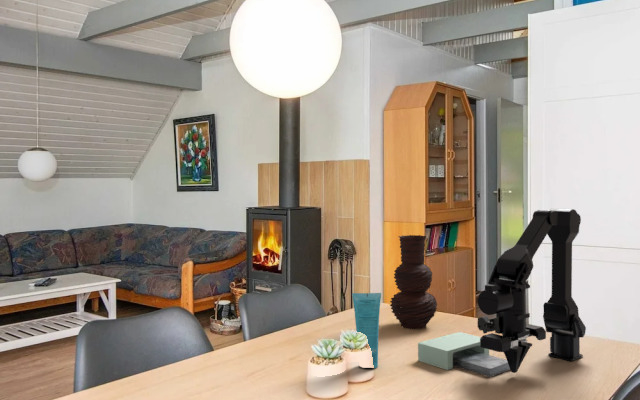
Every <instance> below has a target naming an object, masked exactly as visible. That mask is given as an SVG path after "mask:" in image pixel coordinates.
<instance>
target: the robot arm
mask: <svg viewBox="0 0 640 400" xmlns="http://www.w3.org/2000/svg"><path fill="white" fill-rule="evenodd" d="M581 220H582V218H581V215H580V214H579V213H578V211H576V209H571V208H568V209H567V208H550V209H538V210H535V211H534V212H533V214H532V218H531V220H530V222H529V223H528V225H527V226H526V228H525V229H524V231H523V232H522V234H521V235H520V237H519V238H518V240H517V241H516V243H515V245H514V246H513V247H511V248H508V249H507V250H505V251H504V252H503V253H502V254H501V255H500V256H499V258H498V259H497V260H496V263H495V265H494V267H493V270H492V272H491V275H490V277H489V279H488V282H487V284H485V285H484V290H482V291H481V292H480V293H479V295H478V297H477V305H478V306H477V307H478V308H479V309H480V310H479V311H480V312H482V313H483V314H485V316H480V317H478V318H477V323H476V324H477V328H478V330H479V331H482V332H483V334H484V335H482V336H480V337H481V338H480V347H482V348H486V349H489V351H493V352H497V353H503V354H504V356H505V360H507V362H508V365H509V367H510V370H509V371H510V372H511V373H513V374H515V373H518V370H519V368H520V366H521V365H522V363H523V361H524V359H525V357H526V355H527V353H528V351H529V350H530V349H531V347H533V343H531V342H528V339H527V338H529V337H535V338H536V339H537V341H542V340H546V339H547V333H551V336H550V337H549V350H550V353H548V355H547V356H549V357H552V358H557V359H561V360H564V361H567V362H568V361H570V362H572V361H575V360H577V359H580V358H583V357H584V356H583V354H582V353H580V352H581V351H580V350H581V349H580V348H581V347H580V342H581V341H580V338H584V336H585V335H586V330H587V327H586V325H585V324H584V322H583V321H582V319H581V317H580V314H579V308H578V304H576V301H575V300H574V299H573V296H572V295H573V294H572V290H573V289H572V285H573V284H572V282H573V281H572V280H573V279H572V278H573V275H572V274H573V243H574V240H575V239H576V238H577V236H578V234H579V233H580V225H581V223H582V221H581ZM547 236H548V238H549V240H550V241H551V296H550V298H549V299H548V301H547V302H544V303H543V314H542V315H543V316H542V319H543V323H544V327H545V328H544V327H543V326H539V325H536V324H535V325H534V324H531V323H527V319H528V318H530V315H531V314H530V313H529V312H527V299H526V297H527V296H526V291H527V289H530V288H531V285H530V284H529V283H528V282H527V280H528V279H529V278H530V277H531V273H532V271H533V269H534V263H533V261H534V260H533V258H534V256H535V255H536V253H537V251H538V249H539V248H540V246H541V245H542V243H543V241H544V240H545V238H546V237H547ZM492 315H495V316H496V317H492V318H489V317H488V316H492ZM490 332H491V333H490ZM492 332H494V333H492ZM487 333H488V334H487Z"/></svg>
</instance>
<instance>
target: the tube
mask: <svg viewBox="0 0 640 400" xmlns="http://www.w3.org/2000/svg"><path fill="white" fill-rule="evenodd" d="M351 296H352V302H353V311H354V320H355V330H356V331H357V332H361V333H363V334H365V335H366V336H367V339H368V344H369V346H370V348H371V351H372V357H373V365H374V369H376V368H378V366H379V331H380V330H379V327H380V326H379V324H380V311H381V310H380V309H381V299H382V293H381V292H367V293H366V292H365V293H364V292H353V293H351ZM356 331H355V332H356Z"/></svg>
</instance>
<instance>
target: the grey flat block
mask: <svg viewBox="0 0 640 400" xmlns="http://www.w3.org/2000/svg"><path fill="white" fill-rule="evenodd" d="M453 367H456V368H459V369H462V370H464V371H465V370H466V371H468V372H472V373H474V374H475V373H476V374H479V375H482V376H486V377H488V378H492V377H494V376H497V375H499V374H502V373H506V372H508V371H511V370H510V367H509V365H508V362H507V359H506V358H505V359H504V358H500V357H497V356H494V355H491V354H489V355H487V354H484V353H480V352H476V351H473V350H469V349H464V350H460V351H457V352H454V353H453Z"/></svg>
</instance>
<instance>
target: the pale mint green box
mask: <svg viewBox="0 0 640 400" xmlns="http://www.w3.org/2000/svg"><path fill="white" fill-rule="evenodd" d="M481 337H482V336H478V335H473V334H470V333H466V332H461V331H457V332H454V333H453V332H452V333H449V334H447V335H444V336H439V337H434V338H430V339H427V340H424V341H420V342H419V341H418V342H417V351H418V352H417V358H418V359H417V361H418V362H422V363H425V364H428V365H430V366H434V367H438V368H441V369H444V370H446V371H449V370H453V369H454V366H453V353H454V352H457V351H460V350H464V349H469V350H473V351H476V352H480V353H484V354H487V355H490V350H489V349H486V348H482V347H480V338H481Z"/></svg>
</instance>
